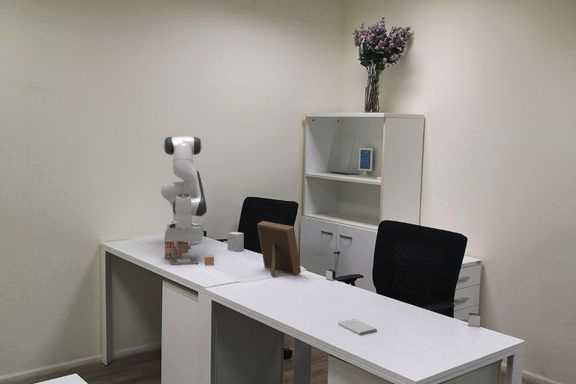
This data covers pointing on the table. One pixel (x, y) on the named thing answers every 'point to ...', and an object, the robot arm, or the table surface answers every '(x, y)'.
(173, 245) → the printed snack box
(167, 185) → the robot arm
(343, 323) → the external hard drive
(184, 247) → the walnut block
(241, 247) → the small box
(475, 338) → the table surface
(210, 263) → the terracotta block
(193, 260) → the grey flat square plate
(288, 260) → the photo frame
